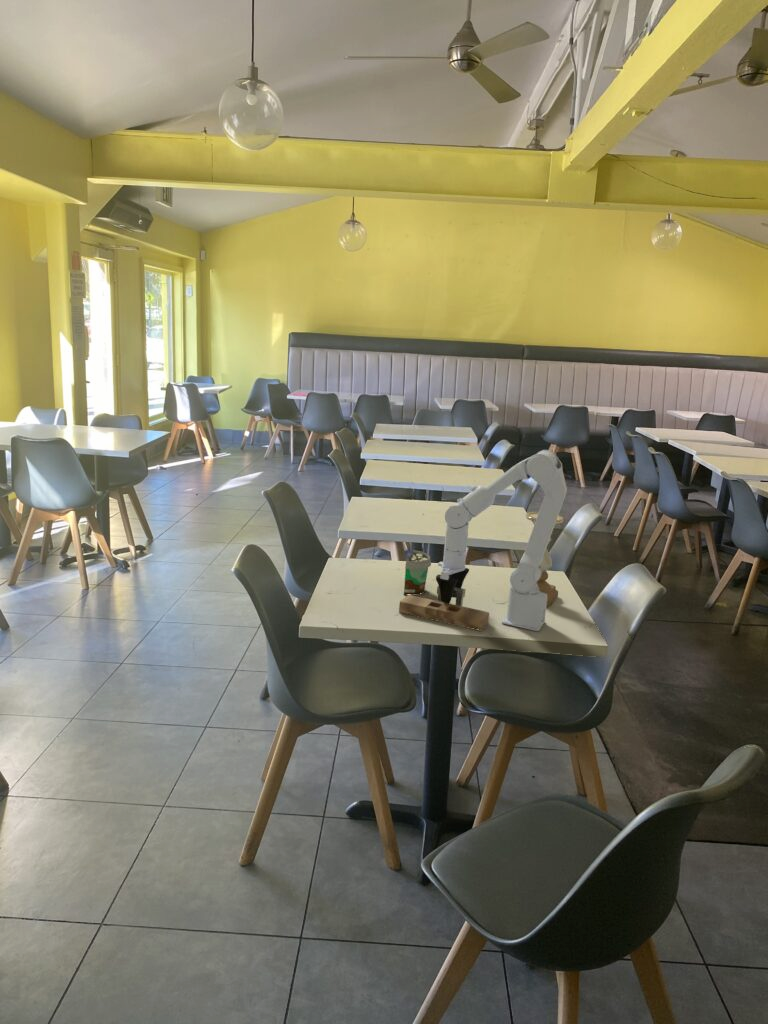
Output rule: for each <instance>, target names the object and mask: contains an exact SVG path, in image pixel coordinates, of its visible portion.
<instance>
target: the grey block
mask: <svg viewBox="0 0 768 1024" xmlns="http://www.w3.org/2000/svg"><path fill="white" fill-rule="evenodd" d="M436 589H437V590H436V595H437V601H440V602H442V601H441V594H440V589H439V585H438V586H437V588H436ZM465 597H466V588H463V587H461V588H457V587H454V590H453V594H452V598H453V599H454V598H455V604H454V605H458V606H464V605H463V603H464V598H465Z"/></svg>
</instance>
